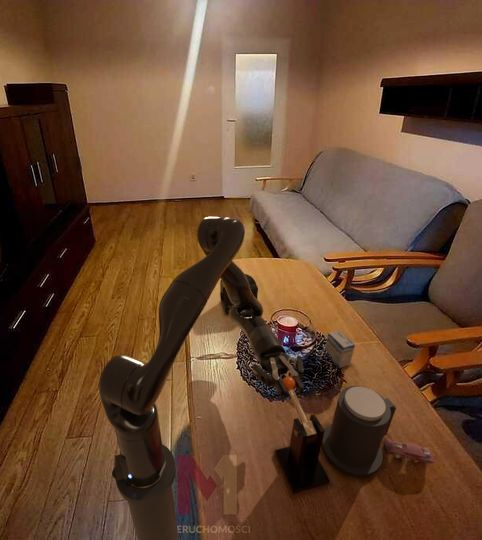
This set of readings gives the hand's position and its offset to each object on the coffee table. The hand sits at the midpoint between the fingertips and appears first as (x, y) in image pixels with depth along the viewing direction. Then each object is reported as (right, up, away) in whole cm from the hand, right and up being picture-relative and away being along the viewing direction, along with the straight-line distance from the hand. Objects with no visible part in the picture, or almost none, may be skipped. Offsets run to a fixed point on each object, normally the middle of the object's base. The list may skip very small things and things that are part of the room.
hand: (293, 393), depth 81 cm
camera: (-8, +14, +60) cm, 62 cm away
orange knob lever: (0, -4, 0) cm, 4 cm away
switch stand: (+2, -18, +2) cm, 19 cm away
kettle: (+16, -16, +5) cm, 23 cm away
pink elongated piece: (+28, -17, +4) cm, 33 cm away
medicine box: (+22, -1, +33) cm, 40 cm away
